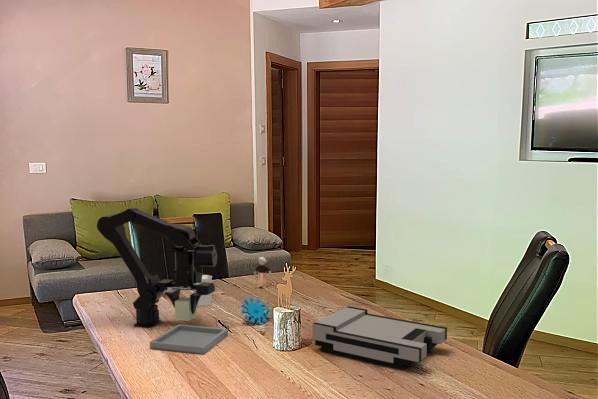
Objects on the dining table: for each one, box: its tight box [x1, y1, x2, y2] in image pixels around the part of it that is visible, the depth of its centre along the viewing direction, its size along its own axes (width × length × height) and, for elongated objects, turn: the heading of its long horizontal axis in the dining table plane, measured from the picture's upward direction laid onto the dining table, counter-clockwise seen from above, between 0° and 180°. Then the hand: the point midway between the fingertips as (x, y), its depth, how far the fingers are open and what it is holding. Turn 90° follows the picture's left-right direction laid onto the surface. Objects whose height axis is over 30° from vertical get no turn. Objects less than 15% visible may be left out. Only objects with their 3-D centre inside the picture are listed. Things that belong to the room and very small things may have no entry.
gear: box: [240, 297, 272, 325], centre depth 193 cm, size 11×6×10 cm
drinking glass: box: [194, 274, 213, 307], centre depth 214 cm, size 7×7×10 cm
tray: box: [149, 323, 229, 356], centre depth 173 cm, size 17×17×2 cm
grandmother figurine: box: [253, 256, 272, 289], centre depth 237 cm, size 8×4×13 cm, turn 80°
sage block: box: [174, 296, 197, 321], centre depth 188 cm, size 5×5×6 cm
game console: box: [312, 306, 448, 371], centre depth 165 cm, size 21×32×8 cm, turn 56°
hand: (185, 313), depth 188 cm, fingers closed on sage block, 5 cm apart
